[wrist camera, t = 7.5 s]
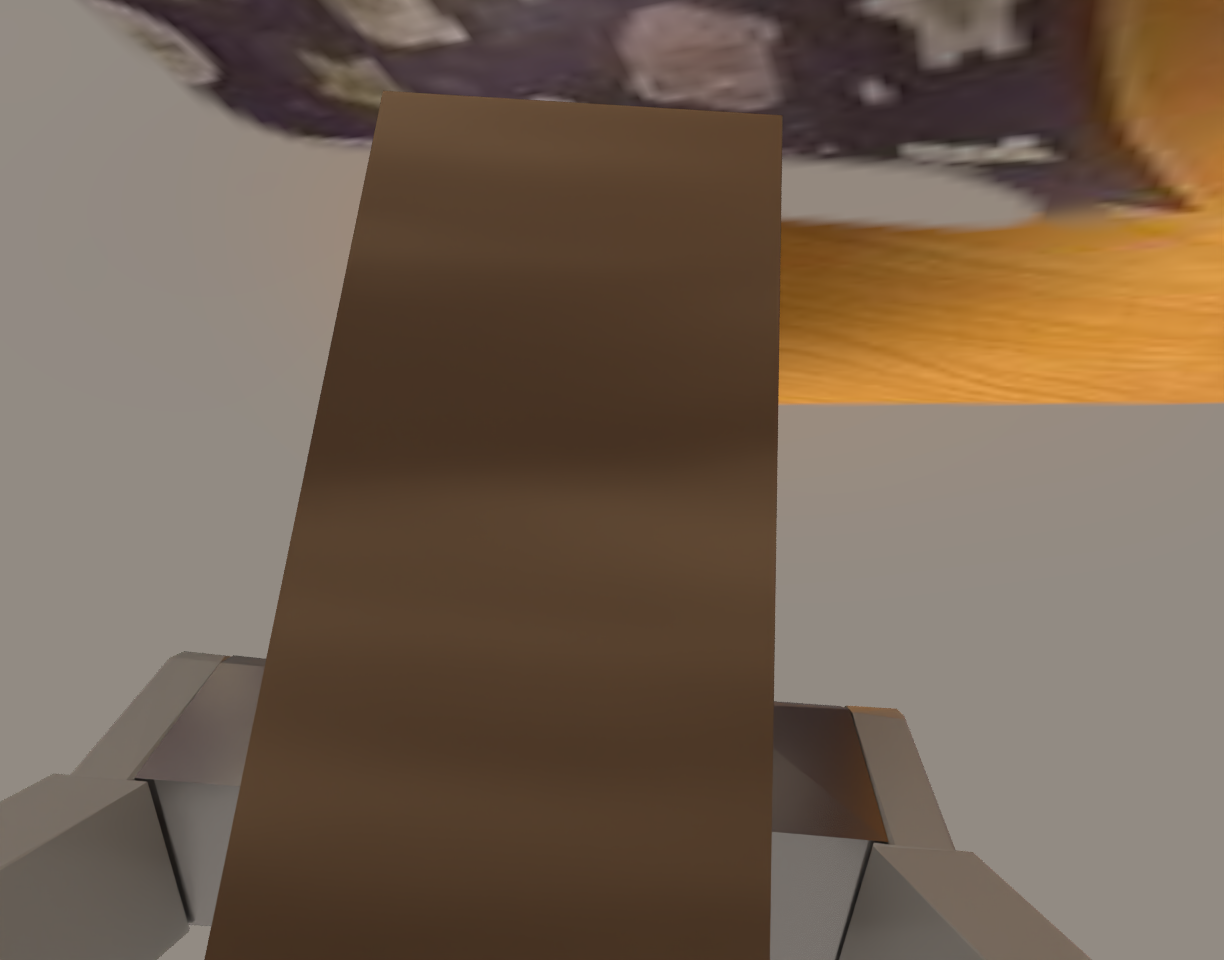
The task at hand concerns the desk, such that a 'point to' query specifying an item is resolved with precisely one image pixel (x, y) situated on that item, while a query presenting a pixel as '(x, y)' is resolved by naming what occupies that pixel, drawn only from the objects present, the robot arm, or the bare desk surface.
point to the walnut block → (530, 555)
